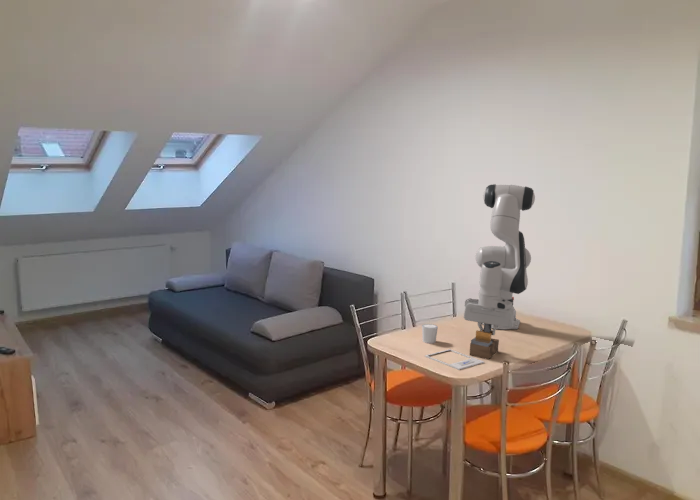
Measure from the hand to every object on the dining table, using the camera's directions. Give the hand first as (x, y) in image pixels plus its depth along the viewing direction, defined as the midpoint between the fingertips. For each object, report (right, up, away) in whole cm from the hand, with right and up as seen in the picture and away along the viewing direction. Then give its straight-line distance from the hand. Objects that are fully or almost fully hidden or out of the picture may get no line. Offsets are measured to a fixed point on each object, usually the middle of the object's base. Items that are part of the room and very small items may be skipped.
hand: (487, 333), depth 228 cm
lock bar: (-4, -3, -5) cm, 7 cm away
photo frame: (-16, -9, -10) cm, 20 cm away
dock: (-2, -8, -1) cm, 8 cm away
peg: (0, -5, +1) cm, 5 cm away
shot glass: (-22, -6, +13) cm, 26 cm away
